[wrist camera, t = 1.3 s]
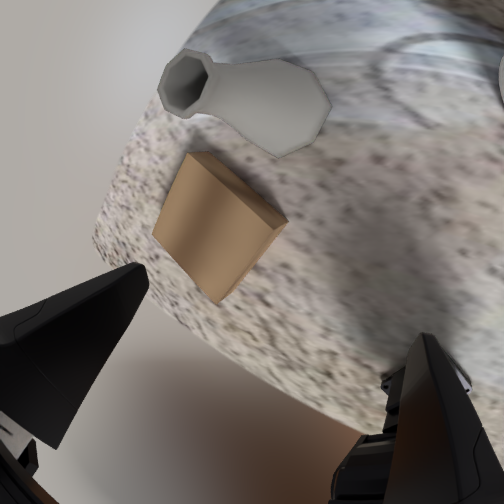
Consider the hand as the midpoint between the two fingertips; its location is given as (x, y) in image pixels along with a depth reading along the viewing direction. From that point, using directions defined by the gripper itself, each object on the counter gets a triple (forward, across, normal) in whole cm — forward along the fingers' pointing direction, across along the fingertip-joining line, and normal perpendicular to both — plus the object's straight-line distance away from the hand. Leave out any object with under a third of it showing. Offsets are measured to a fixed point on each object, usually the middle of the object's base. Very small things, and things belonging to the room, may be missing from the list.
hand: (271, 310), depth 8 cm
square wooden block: (+14, +8, +6) cm, 17 cm away
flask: (+15, +4, -4) cm, 16 cm away
